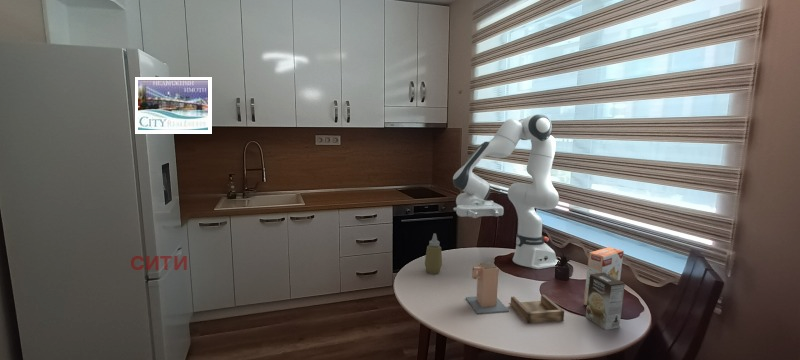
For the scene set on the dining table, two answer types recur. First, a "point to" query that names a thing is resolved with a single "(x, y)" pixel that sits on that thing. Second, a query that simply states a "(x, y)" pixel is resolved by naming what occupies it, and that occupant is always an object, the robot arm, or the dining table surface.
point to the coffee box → (605, 300)
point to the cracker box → (604, 265)
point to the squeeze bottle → (433, 256)
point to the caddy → (538, 310)
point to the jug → (486, 283)
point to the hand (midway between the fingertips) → (486, 214)
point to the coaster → (485, 310)
